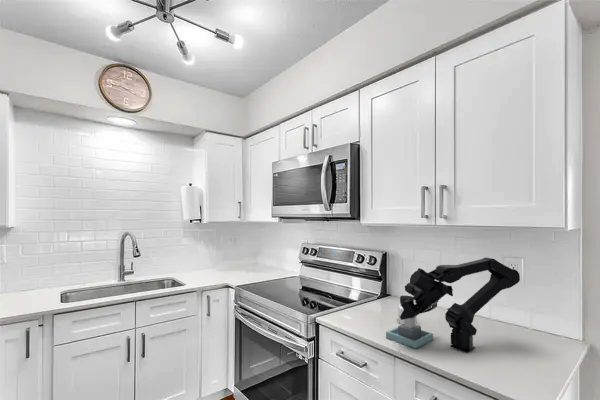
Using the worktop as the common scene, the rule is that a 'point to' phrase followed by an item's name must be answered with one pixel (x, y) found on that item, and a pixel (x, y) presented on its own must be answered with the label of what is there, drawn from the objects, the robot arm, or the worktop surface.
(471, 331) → the robot arm
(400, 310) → the medicine bottle
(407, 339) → the tray
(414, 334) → the grey tabbed block
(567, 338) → the worktop surface
